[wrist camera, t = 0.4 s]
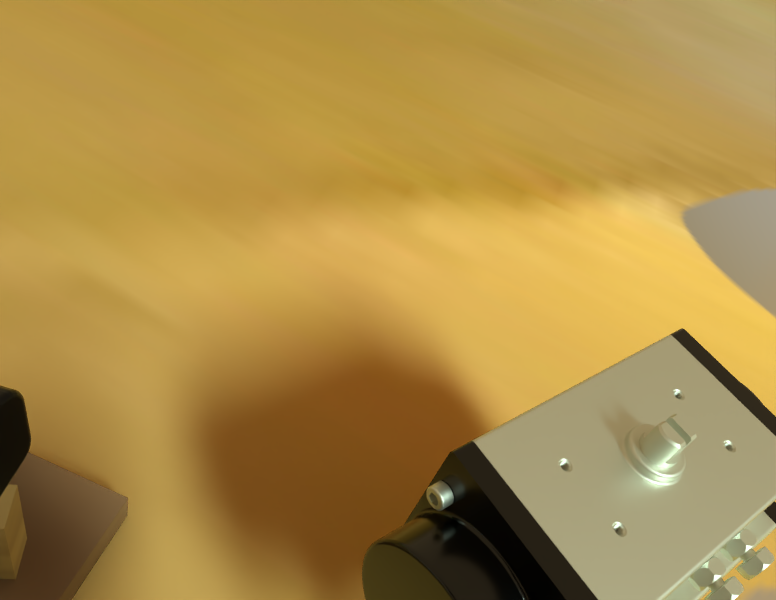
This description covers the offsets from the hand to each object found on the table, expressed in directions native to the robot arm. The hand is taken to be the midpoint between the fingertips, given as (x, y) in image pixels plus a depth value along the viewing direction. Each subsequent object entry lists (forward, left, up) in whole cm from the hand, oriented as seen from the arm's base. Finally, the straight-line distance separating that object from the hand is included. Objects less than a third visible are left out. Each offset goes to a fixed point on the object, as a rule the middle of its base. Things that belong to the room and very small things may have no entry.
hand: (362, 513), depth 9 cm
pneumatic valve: (+7, -6, -16) cm, 18 cm away
